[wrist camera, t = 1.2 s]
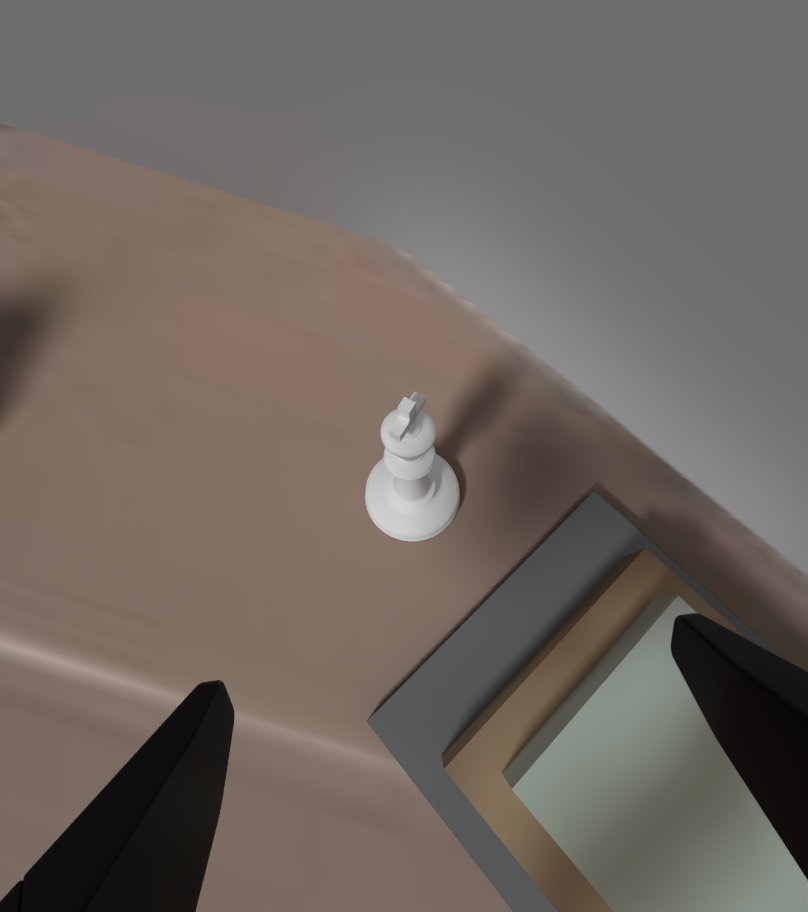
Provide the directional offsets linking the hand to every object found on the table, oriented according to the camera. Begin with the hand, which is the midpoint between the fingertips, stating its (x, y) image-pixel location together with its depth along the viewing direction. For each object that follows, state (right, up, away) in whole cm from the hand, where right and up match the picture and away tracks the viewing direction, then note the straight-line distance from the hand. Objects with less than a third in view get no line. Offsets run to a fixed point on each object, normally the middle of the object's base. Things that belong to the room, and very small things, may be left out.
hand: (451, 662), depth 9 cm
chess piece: (0, +2, +15) cm, 15 cm away
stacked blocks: (+9, -9, +10) cm, 16 cm away
